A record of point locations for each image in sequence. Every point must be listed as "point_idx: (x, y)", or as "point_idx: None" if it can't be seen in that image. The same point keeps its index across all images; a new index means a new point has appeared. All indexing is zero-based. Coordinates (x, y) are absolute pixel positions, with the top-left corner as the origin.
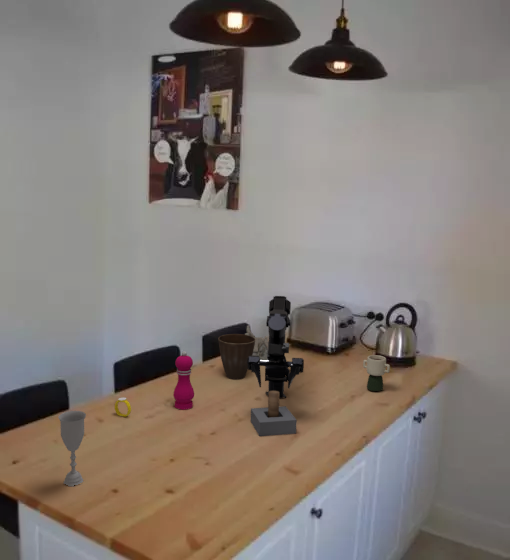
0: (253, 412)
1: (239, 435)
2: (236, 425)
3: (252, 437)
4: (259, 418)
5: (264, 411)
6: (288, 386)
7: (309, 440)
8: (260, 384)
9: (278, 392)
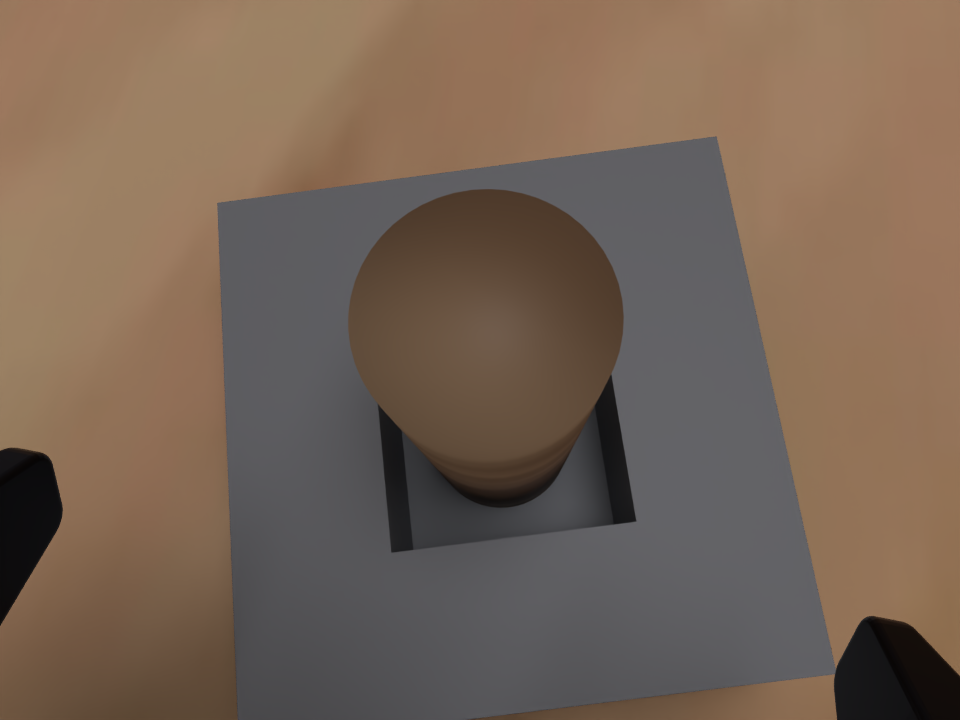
0: (795, 493)
1: (896, 245)
2: (945, 524)
3: (753, 194)
4: (714, 268)
5: (619, 525)
6: (14, 453)
7: (185, 112)
8: (896, 644)
9: (371, 315)
